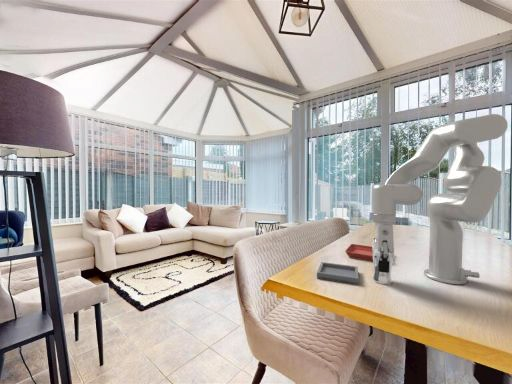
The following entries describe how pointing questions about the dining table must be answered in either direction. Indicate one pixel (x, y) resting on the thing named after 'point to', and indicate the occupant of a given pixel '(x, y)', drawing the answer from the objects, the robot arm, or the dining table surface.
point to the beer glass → (378, 276)
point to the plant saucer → (360, 252)
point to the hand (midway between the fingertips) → (382, 268)
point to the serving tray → (338, 273)
